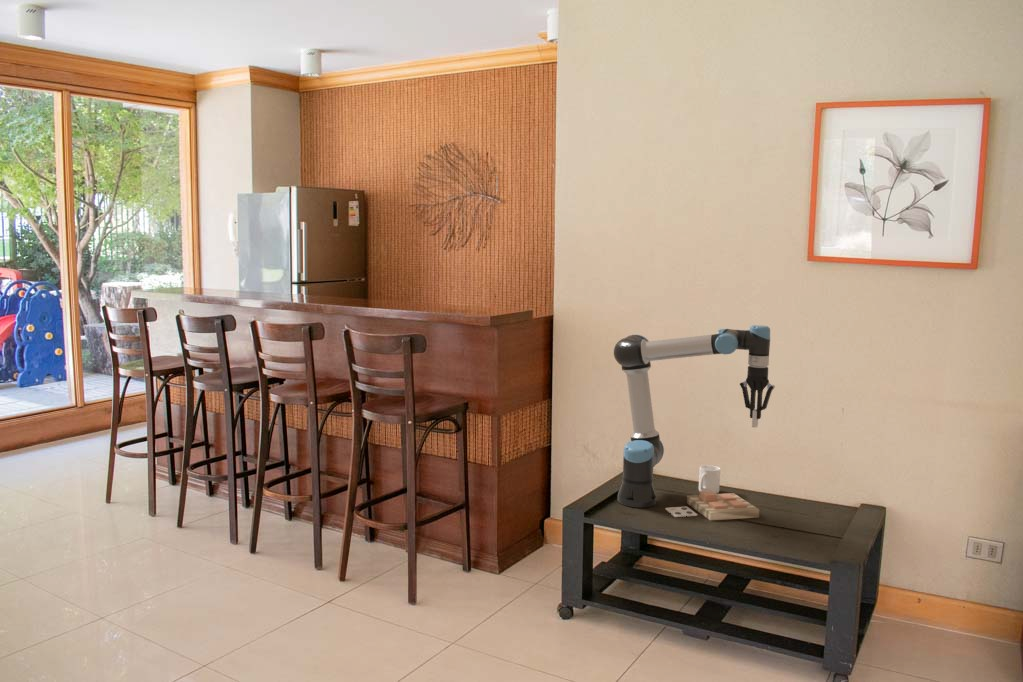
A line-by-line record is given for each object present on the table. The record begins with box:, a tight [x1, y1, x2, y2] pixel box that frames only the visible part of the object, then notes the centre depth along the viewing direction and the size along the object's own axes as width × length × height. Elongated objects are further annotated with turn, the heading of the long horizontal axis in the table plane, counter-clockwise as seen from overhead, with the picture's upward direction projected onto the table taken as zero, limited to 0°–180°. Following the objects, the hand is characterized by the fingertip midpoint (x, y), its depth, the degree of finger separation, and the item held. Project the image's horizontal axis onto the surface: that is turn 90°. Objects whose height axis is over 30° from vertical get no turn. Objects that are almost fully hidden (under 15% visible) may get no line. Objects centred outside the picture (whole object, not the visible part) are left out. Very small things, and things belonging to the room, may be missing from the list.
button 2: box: [709, 501, 727, 509], centre depth 312 cm, size 5×5×4 cm
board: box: [686, 492, 760, 521], centre depth 317 cm, size 20×20×3 cm
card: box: [664, 506, 698, 518], centre depth 313 cm, size 9×9×1 cm
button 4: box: [728, 500, 746, 508], centre depth 314 cm, size 5×5×4 cm
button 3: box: [718, 493, 736, 501], centre depth 321 cm, size 5×5×4 cm
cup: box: [698, 464, 721, 494], centre depth 337 cm, size 8×12×10 cm
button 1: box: [698, 491, 717, 502], centre depth 319 cm, size 5×5×4 cm
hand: (754, 426), depth 317 cm, fingers closed
